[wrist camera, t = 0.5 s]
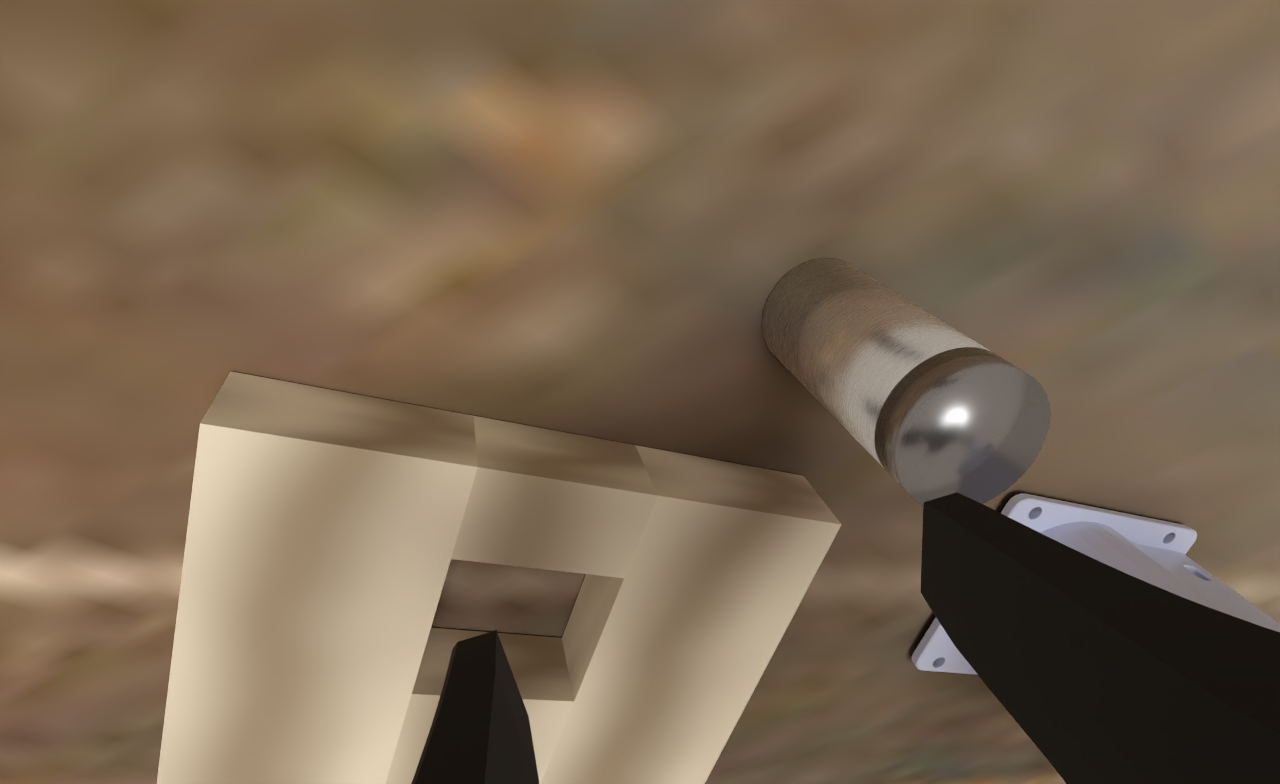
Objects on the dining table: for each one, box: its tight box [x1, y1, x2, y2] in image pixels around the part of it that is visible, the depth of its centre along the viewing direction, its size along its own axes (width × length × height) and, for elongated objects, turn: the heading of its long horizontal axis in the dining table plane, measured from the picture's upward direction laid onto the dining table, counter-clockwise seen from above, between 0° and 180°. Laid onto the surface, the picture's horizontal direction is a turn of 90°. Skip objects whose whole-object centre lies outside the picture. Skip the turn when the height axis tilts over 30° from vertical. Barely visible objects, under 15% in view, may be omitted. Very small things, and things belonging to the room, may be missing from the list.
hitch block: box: [157, 371, 842, 784], centre depth 21 cm, size 16×14×2 cm
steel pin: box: [762, 258, 1050, 506], centre depth 17 cm, size 3×3×7 cm
